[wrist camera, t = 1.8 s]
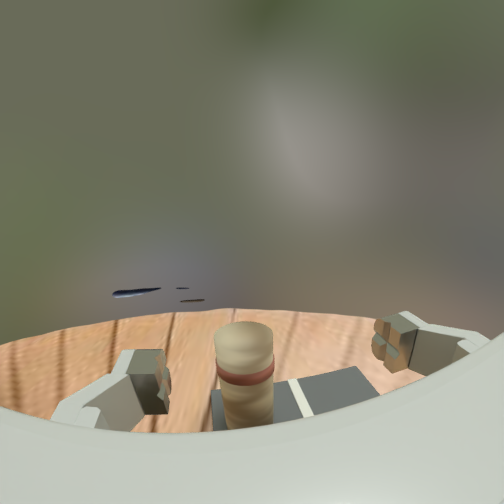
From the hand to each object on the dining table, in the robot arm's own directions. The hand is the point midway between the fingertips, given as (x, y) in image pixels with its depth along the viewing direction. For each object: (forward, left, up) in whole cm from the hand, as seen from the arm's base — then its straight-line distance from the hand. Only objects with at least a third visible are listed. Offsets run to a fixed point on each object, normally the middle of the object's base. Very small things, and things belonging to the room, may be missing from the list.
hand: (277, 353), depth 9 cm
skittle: (0, +12, -18) cm, 22 cm away
